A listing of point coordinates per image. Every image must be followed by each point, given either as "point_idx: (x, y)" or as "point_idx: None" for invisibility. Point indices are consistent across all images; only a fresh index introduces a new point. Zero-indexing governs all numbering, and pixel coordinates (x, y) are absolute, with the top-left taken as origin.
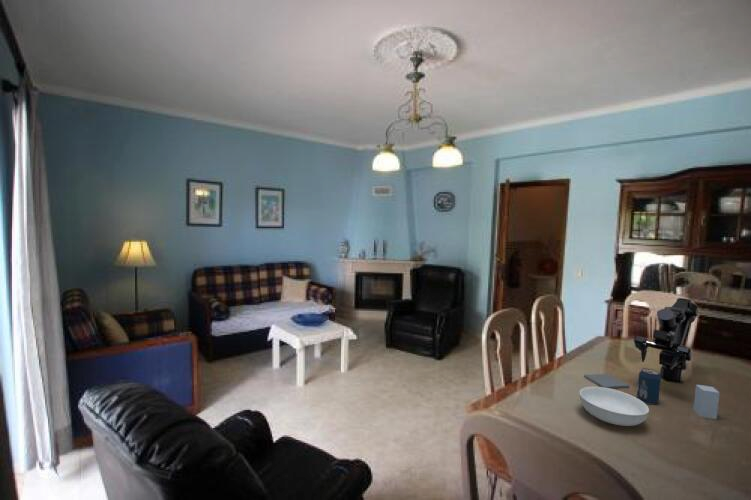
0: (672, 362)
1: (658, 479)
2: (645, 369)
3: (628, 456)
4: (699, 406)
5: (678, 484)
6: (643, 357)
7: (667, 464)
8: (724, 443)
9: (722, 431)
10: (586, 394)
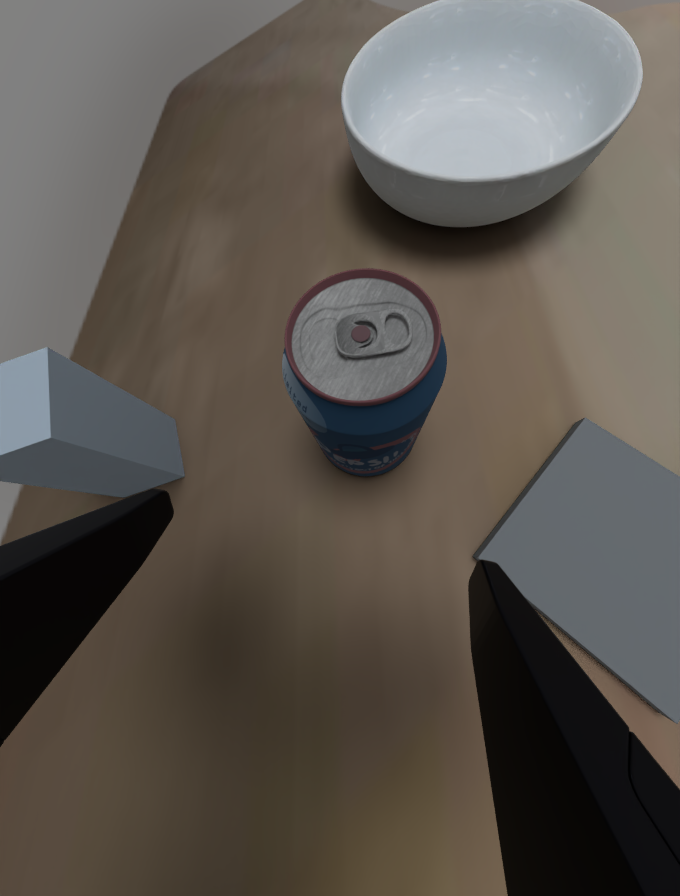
0: (61, 537)
1: (314, 22)
2: (407, 377)
3: None
4: (145, 411)
5: (280, 33)
6: (506, 610)
7: (297, 73)
8: (147, 260)
9: (128, 341)
10: (600, 130)
